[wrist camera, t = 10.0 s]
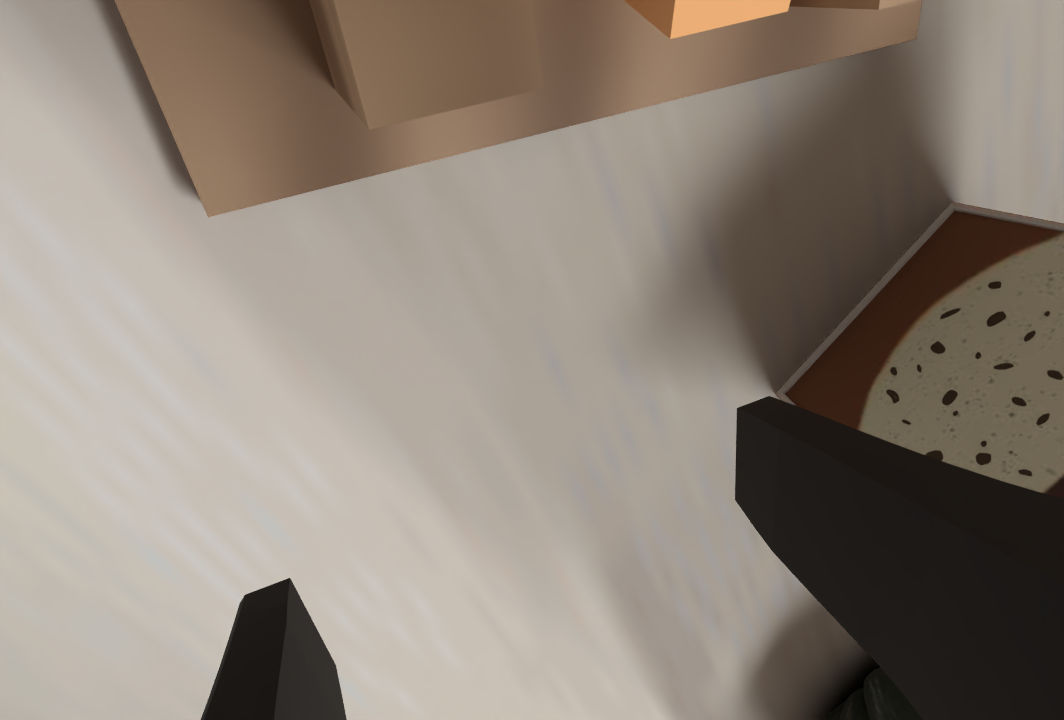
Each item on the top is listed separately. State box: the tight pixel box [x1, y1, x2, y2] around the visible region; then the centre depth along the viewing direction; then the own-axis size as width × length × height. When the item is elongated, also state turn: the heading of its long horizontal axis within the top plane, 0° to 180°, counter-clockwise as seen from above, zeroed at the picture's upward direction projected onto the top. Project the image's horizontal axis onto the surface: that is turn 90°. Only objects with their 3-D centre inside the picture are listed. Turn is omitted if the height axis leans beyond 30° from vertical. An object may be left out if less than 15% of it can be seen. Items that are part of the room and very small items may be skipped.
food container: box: [776, 202, 1064, 499], centre depth 23 cm, size 12×6×10 cm, turn 138°
